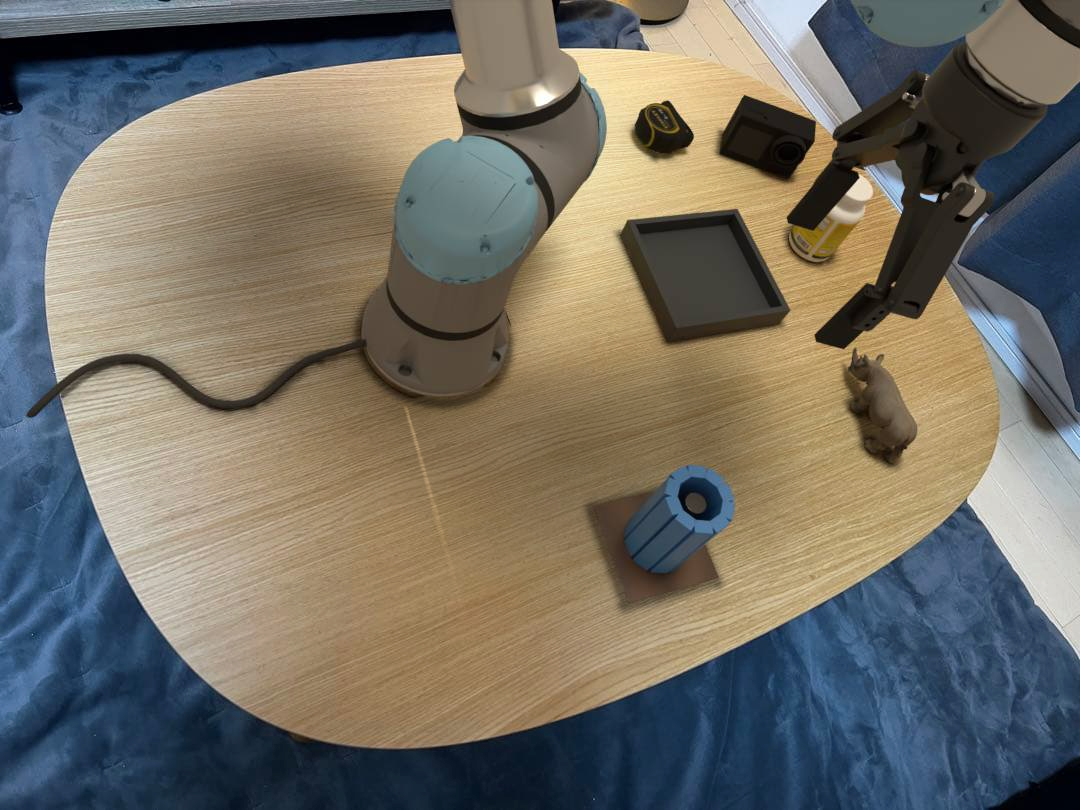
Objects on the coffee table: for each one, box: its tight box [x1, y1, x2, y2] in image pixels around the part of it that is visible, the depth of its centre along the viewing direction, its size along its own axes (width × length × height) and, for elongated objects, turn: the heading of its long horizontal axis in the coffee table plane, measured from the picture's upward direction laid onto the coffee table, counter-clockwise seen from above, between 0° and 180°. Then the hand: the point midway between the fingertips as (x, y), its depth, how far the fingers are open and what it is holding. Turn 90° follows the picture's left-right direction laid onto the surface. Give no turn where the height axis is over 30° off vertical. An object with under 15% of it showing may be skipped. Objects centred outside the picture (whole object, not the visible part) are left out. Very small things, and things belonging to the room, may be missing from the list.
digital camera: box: [719, 94, 817, 179], centre depth 113 cm, size 10×5×7 cm, turn 77°
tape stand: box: [592, 491, 720, 604], centre depth 79 cm, size 10×10×11 cm
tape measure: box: [634, 99, 695, 155], centre depth 111 cm, size 7×7×4 cm
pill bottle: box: [788, 173, 874, 263], centre depth 105 cm, size 6×6×11 cm
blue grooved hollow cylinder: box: [624, 464, 736, 574], centre depth 78 cm, size 6×7×11 cm
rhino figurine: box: [847, 346, 918, 464], centre depth 96 cm, size 4×14×6 cm, turn 12°
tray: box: [619, 208, 792, 342], centre depth 101 cm, size 16×16×3 cm
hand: (813, 280), depth 72 cm, fingers open, 13 cm apart
